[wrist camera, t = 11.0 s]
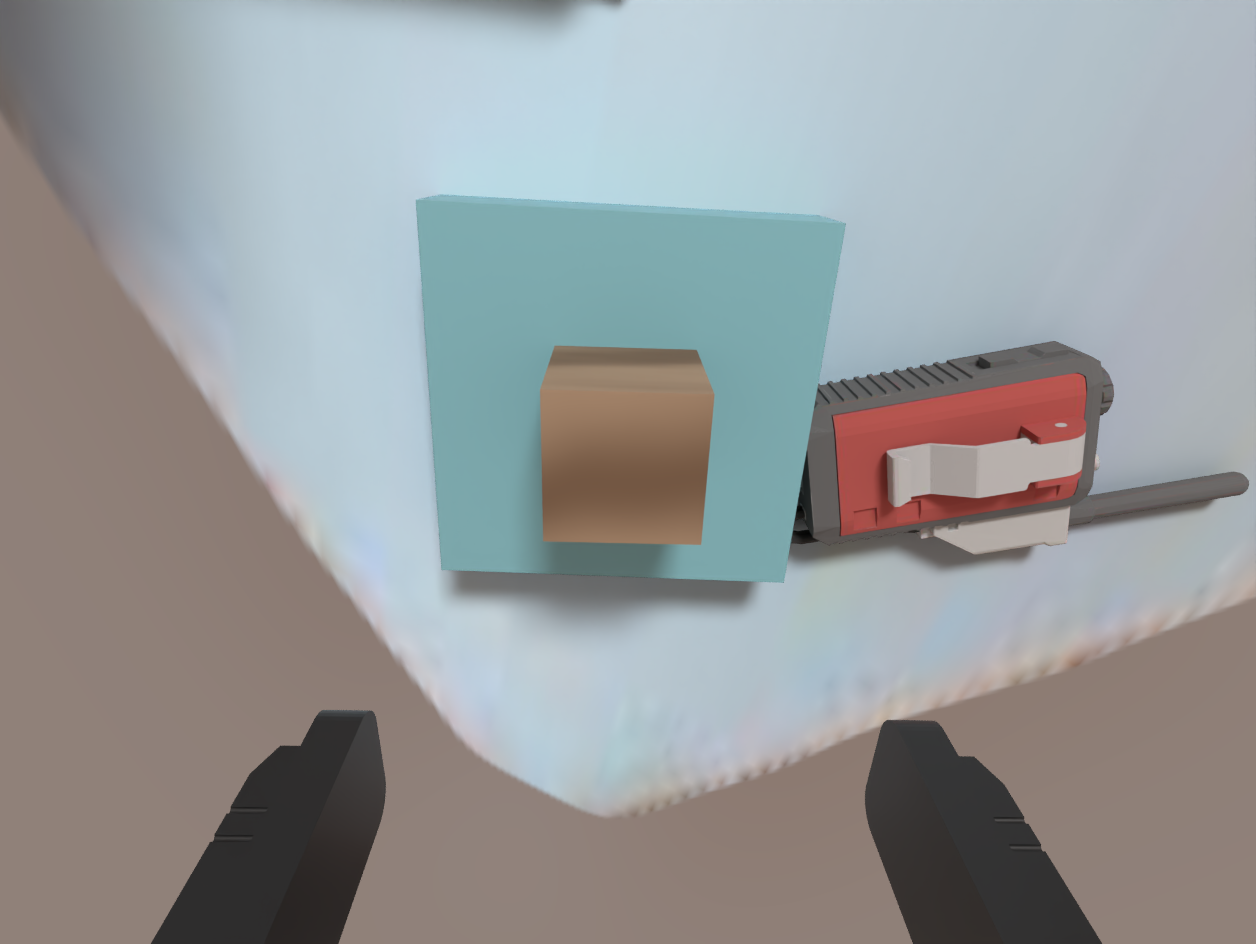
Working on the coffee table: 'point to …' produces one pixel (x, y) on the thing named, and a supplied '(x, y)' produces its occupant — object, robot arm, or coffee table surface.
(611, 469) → the walnut block
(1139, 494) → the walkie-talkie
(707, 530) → the teal base block
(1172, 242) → the coffee table surface
